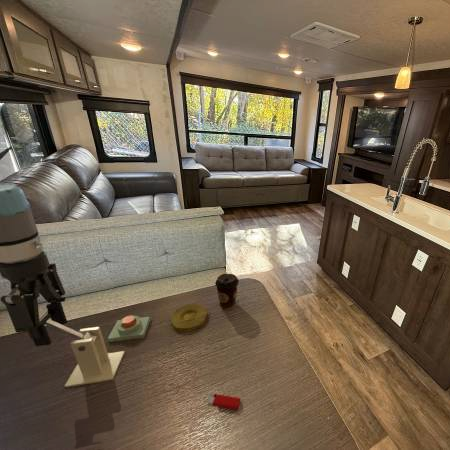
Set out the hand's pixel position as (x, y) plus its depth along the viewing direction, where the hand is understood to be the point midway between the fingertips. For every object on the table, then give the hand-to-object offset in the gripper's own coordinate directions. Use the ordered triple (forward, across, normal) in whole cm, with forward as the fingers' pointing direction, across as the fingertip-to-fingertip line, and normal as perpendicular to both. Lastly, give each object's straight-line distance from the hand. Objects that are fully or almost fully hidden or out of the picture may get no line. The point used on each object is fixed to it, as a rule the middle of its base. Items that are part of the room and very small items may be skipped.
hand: (52, 333), depth 63 cm
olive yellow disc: (+16, +16, -29) cm, 37 cm away
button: (+12, +13, -11) cm, 21 cm away
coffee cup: (+16, +22, -43) cm, 51 cm away
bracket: (+16, 0, -7) cm, 17 cm away
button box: (+16, +13, -11) cm, 23 cm away
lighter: (+16, -16, -42) cm, 48 cm away
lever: (+1, 0, -2) cm, 2 cm away
